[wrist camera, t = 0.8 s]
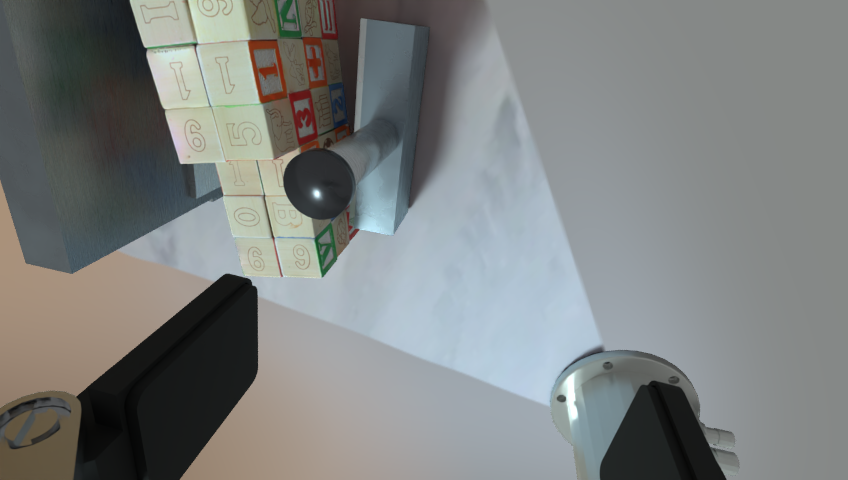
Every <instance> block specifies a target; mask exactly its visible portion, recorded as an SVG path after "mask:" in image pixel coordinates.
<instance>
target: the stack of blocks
mask: <svg viewBox="0 0 848 480" xmlns="http://www.w3.org/2000/svg"><path fill="white" fill-rule="evenodd" d="M130 4H131V7H132V10H133V13H134V16H135V20H136V23H137V27H138V30H139V33H140V36H141V39H142V42H143V45H144V47H145V48H147V54H146V56H147V59H148V63H149V66H150V69H151V72H152V76H153V79H154V82H155V85H156V88H157V92H158V95H159V98H160V102H161V105H162V107H163V108H164V109H165V116H166V119H167V122H168V126H169V129H170V132H171V135H172V139H173V142H174V145H175V149H176V152H177V155H178V158H179V161H180V163H181V164H193V163H215V165H216V169H217V173H218V177H219V181H220V184H221V188H222V192H223V200H224V204H225V208H226V212H227V216H228V220H229V224H230V228H231V232H232V235H233V237H234V238H235V243H236V247H237V251H238V254H239V259H240V263H241V267H242V271H243V274H244V276H261V277H283V276H284V277H300V278H322V277H324V275H325V274H326V273H327V272H328V270H329V269H330V268H331V267H332V265H333V264H334V263H335V262H336V260H337V257H338V256H339V255H340V254H341V252H342V251H343V250H344V249H345V248H346V246H347V245H348V244H349V241H350V240H351V239H352V238H353V237H354V236H355V235H356V233H357V232H358V231H359V229H356V228H354V226H350V225H349V213H350V204H349V205H348V206H347V207H346V208H345V209H344V210H343V211H342V212H341V213H340V214H339V215H337V216H336V217H334V218H331V219H326V220H318V219H313V218H310V217H307V216H305V215H304V214H302V213H301V212H299V211H298V210H297V209H296V208H295V207H294V206H293V205H292V204H291V202H290V201H289V199H288V197H287V195H286V193H285V190H284V185H283V176H284V171H285V168H286V166H287V164H288V163H289V162H290V161H291V160H292V159H293V158H294V157H295V156H297V155H299V154H301V153H302V152H304V151H306V150H309V149H312V148H325V149H327V148H329V147H330V146H332V145H334V144H335V143H337V142H339V141H340V140H342V139H344V138H345V137H347V136H349V135H350V130H349V124H348V123H347V112H346V104H345V96H344V87H343V83H342V73H341V65H340V57H339V49H338V42H337V39H338V33H337V24H336V16H335V7H334V0H130Z"/></svg>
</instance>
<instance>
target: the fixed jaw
mask: <svg viewBox="0 0 848 480" xmlns="http://www.w3.org/2000/svg"><path fill="white" fill-rule="evenodd" d="M146 54H147V48H145V47H144V45H143V42H142V39H141V36H140V33H139V30H138V27H137V23H136V20H135V16H134V13H133V10H132V7H131V4H130V0H0V180H1V183H2V187H3V190H4V193H5V196H6V200H7V203H8V206H9V209H10V213H11V216H12V219H13V223H14V226H15V229H16V232H17V236H18V239H19V242H20V245H21V249H22V252H23V255H24V259H25V262H26V263H27V264H31V265H36V266H40V267H44V268H49V269H53V270H57V271H62V272H66V273H70V274H73V273H74V272H76V271H78V270H80V269H81V268H84V267H85V266H87V265H89V264H91V263H93V262H95V261H97V260H99V259H100V258H102V257H104V256H106V255H108V254H110V253H112V252H114V251H116V250H117V249H119V248H121V247H123V246H125V245H127V244H129V243H130V242H132V241H134V240H136V239H138V238H140V237H142V236H144V235H145V234H147V233H149V232H151V231H153V230H155V229H157V228H158V227H160V226H162V225H164V224H166V223H168V222H170V221H172V220H173V219H175V218H177V217H179V216H181V215H183V214H185V213H186V212H188V211H190V210H192V209H194V208H196V207H198V206H200V205H201V204H203V203H205V202H207V201H211V202H213V201H215V200H217V199H219V198H221V197H223V192H222V188H221V184H220V181H219V177H218V173H217V169H216V165H215V163H193V164H181V163H180V161H179V158H178V155H177V152H176V149H175V145H174V142H173V139H172V135H171V132H170V129H169V126H168V122H167V119H166V116H165V109H164V108H163V107H162V105H161V102H160V98H159V95H158V92H157V88H156V85H155V82H154V79H153V76H152V72H151V69H150V66H149V63H148V59H147V56H146Z"/></svg>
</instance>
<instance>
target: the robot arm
mask: <svg viewBox="0 0 848 480" xmlns="http://www.w3.org/2000/svg"><path fill="white" fill-rule="evenodd" d="M257 303H258V295H257V288H256V287H255V286H252V282H251V280H250V279H248V278H244V277H240V276H236V275H232V274H225V275H223V276H222V277H221V278H219V279H218V280H217V281H216V282H214V283H213V284H212V285H211V286H210V287H208V288H207V289H206V290H205V291H204V292H202V293H201V294H200V295H199V296H198V297H196V298H195V299H194V300H193V301H191V302H190V303H189V304H188V305H187V306H185V307H184V308H183V309H182V310H180V311H179V312H178V313H177V314H176V315H175V316H173V317H172V318H171V319H170V320H168V321H167V322H166V323H165V324H163V325H162V326H161V327H160V328H159V329H157V330H156V331H155V332H154V333H153V334H151V335H150V336H149V337H148V338H147V339H145V340H144V341H143V342H142V343H140V344H139V345H138V346H137V347H136V348H134V349H133V350H132V351H131V352H129V353H128V354H127V355H126V356H125V357H123V358H122V359H121V360H120V361H119V362H117V363H116V364H115V365H114V366H113V367H111V368H110V369H109V370H108V371H106V372H105V373H104V374H103V375H102V376H100V377H99V378H98V379H97V380H96V381H94V382H93V383H92V384H91V385H89V386H88V387H87V388H86V389H85V390H84V391H83V392H81V393H80V394H79V395H78V396H77V397H75V396H74V395H72V394H69V393H67V392H62V391H46V392H38V393H34V394H31V395H27V396H24V397H21V398H19V399H17V400H14V401H12V402H10V403H8V404H6V405H4V406H3V407H1V408H0V480H180V478H181V477H182V476H183V474H184V473H185V472H186V470H187V469H188V468H189V466H190V465H191V463H192V462H193V461H194V460H195V458H196V457H197V456H198V454H199V453H200V452H201V450H202V449H203V448H204V446H205V445H206V444H207V443H208V441H209V440H210V438H211V437H212V436H213V435H214V433H215V432H216V430H217V429H218V428H219V427H220V425H221V424H222V423H223V421H224V420H225V419H226V417H227V416H228V415H229V413H230V412H231V411H232V409H233V408H234V407H235V405H236V404H237V403H238V401H239V400H240V399H241V397H242V396H243V395H244V394H245V392H246V391H247V390H248V388H249V387H250V386H251V384H252V383H253V381H254V379H255V377H256V374H257V370H258V314H257V313H258V305H257ZM550 407H551V415H552V419H553V423H554V425H555V427H556V428H557V430H558V432H559V433H560V434H561V435H562V437H563V438H564V439H565V440H566V441H567V442H568V443H570V444H571V445H572V446H573V451H574V459H575V466H576V473H577V479H578V480H726V478H725V476H724V474H726V475H730V476H736V475H737V473H738V471H739V460H738V457H737V455H736V454H735V453H733V452H729V451H725V450H721V449H716V448H712V447H710V446H709V444H708V443H711V444H713V445H716V446H720V447H725V448H729V449H732V448H733V447H734V445H735V437H734V434H733V433H732V432H729V431H725V430H720V429H715V428H714V429H712V428H708V427H705V425H704V424H703V423H701V422H700V420H699V417H700V404H699V400H698V395H697V393H696V392H695V389H694V387H693V385H692V383H691V382H690V381H689V379H688V378H687V376H686V375H685V374H684V373H683V372H682V371H681V370H680V369H679V368H677V367H676V366H675V365H673V364H672V363H670V362H668V361H667V360H665V359H663V358H660V357H657V356H655V355H652V354H648V353H644V352H639V351H629V350H616V351H606V352H602V353H597V354H593V355H591V356H588V357H586V358H583V359H581V360H579V361H578V362H576V363H574V364H573V365H571V366H570V367H569V368H567V369H566V370H565V371H564V372H563V373H562V374H561V375H560V377H559V378H558V379H557V381H556V382H555V384H554V387H553V389H552V392H551V398H550Z"/></svg>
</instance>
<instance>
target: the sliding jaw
mask: <svg viewBox="0 0 848 480" xmlns="http://www.w3.org/2000/svg"><path fill="white" fill-rule="evenodd" d="M429 30H430V27H424V26H417V25H410V24H403V23H396V22H389V21H382V20H373V19H364V18H361V20H360V38H359V55H358V73H357V90H356V108H355V125H354V133H352V134H351V135H349V136H347V137H345V138H344V139H342V140H340V141H339V142H337V143H335V144H334V145H332V146H330V147H329V148H327V149H325V148H312V149H309V150H306V151H304V152H302V153H301V154H299V155H297V156H295V157H294V158H293V159H292V160H291V161H290V162H289V163H288V164H287V166H286V168H285V171H284V176H283V185H284V190H285V193H286V195H287V197H288V199H289V201H290V202H291V204H292V205H293V206H294V207H295V208H296V209H297V210H298V211H299V212H301V213H302V214H304V215H305V216H307V217H310V218H313V219H318V220H326V219H331V218H334V217H336V216H337V215H339V214H340V213H341V212H342V211H343V210H344V209H345V208H346V207H347V206H348V205H349V204H350V213H349V225H350V226H354V228H356V229H361V230H366V231H371V232H376V233H381V234H387V235H392V236H393V235H394V233H395V232H396V230H397V228H398V227H399V225H400V224H401V222H402V220H403V219H404V217H405V215H406V214H407V212H408V206H409V198H410V189H411V181H412V173H413V164H414V156H415V147H416V139H417V131H418V122H419V114H420V105H421V97H422V89H423V80H424V72H425V63H426V55H427V47H428V38H429Z"/></svg>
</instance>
